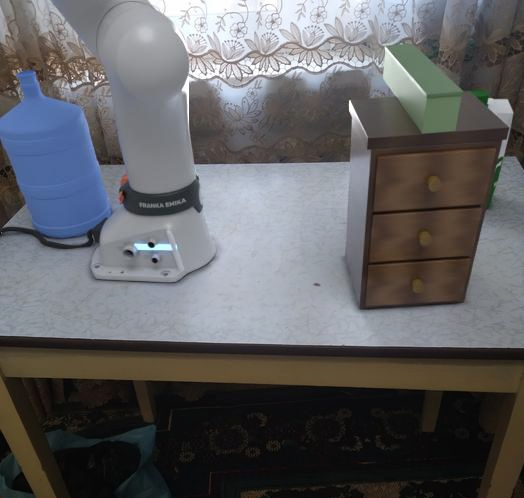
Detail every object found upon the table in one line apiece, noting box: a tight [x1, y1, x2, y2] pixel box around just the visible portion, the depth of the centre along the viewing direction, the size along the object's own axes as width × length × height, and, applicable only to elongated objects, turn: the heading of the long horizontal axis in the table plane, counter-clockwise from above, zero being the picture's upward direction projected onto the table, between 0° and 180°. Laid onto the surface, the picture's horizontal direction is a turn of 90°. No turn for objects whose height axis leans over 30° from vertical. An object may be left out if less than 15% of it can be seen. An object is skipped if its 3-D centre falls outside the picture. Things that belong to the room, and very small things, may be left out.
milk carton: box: [468, 89, 514, 210], centre depth 98 cm, size 9×9×20 cm
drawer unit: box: [345, 90, 509, 310], centre depth 77 cm, size 17×17×26 cm
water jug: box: [0, 69, 112, 239], centre depth 99 cm, size 16×16×28 cm
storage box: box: [382, 43, 464, 134], centre depth 71 cm, size 4×24×4 cm, turn 1°
